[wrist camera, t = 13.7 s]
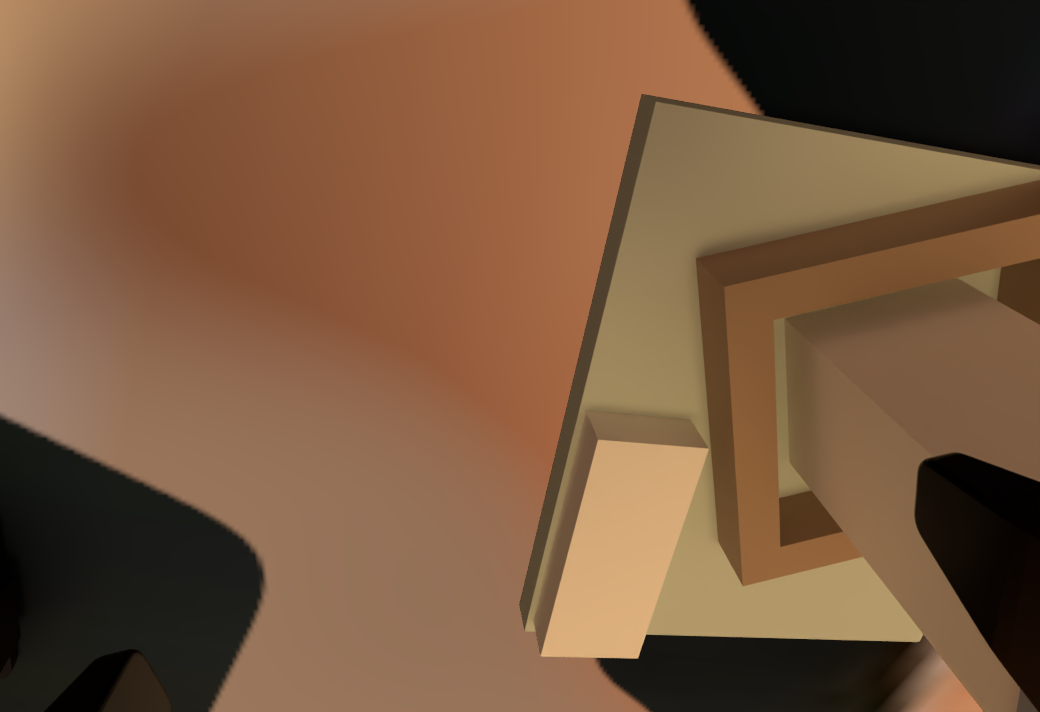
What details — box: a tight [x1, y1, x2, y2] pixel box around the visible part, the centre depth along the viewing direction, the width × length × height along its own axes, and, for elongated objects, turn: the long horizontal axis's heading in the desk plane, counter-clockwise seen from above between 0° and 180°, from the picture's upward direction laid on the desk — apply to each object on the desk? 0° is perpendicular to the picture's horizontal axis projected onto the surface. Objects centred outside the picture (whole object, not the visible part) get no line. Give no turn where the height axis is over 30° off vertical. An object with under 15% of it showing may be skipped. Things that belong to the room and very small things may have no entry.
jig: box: [519, 94, 1040, 642], centre depth 23 cm, size 15×17×3 cm
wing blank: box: [533, 411, 709, 658], centre depth 23 cm, size 3×8×2 cm, turn 170°
